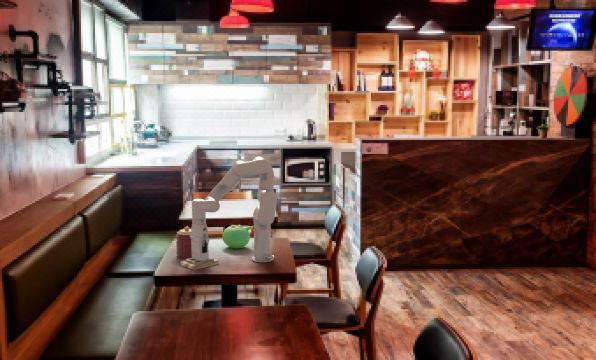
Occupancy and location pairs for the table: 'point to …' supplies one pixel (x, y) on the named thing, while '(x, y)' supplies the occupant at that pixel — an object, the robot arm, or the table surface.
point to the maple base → (198, 263)
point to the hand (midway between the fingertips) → (199, 251)
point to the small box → (198, 249)
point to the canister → (184, 243)
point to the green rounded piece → (236, 236)
